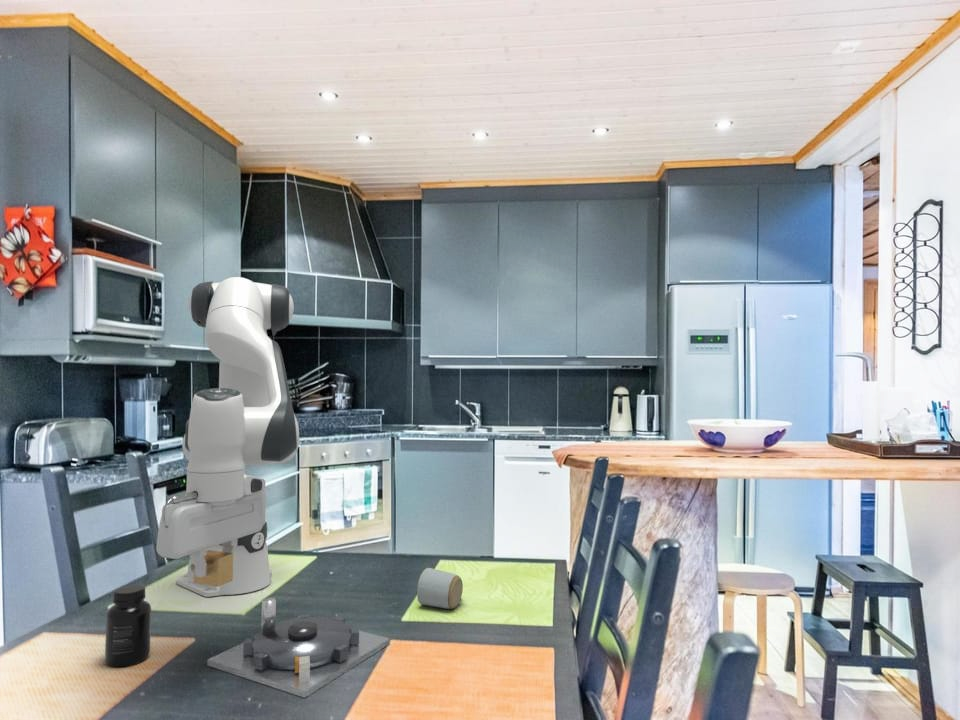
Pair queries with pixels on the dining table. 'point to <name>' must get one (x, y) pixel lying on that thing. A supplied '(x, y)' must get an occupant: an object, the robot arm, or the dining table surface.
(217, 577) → the tan block
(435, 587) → the ceramic mug
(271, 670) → the base plate
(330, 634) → the sprocket
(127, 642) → the supplement bottle
